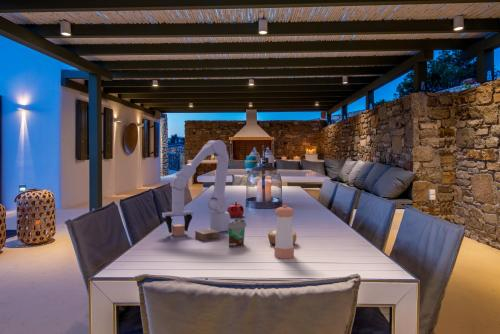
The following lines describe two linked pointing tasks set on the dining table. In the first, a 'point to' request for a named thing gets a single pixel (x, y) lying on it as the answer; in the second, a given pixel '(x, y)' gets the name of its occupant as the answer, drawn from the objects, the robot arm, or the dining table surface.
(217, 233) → the walnut block
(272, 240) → the pastry
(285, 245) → the pepper shaker
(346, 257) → the dining table surface
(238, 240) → the food container
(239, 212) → the pomegranate
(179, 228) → the terracotta cube
